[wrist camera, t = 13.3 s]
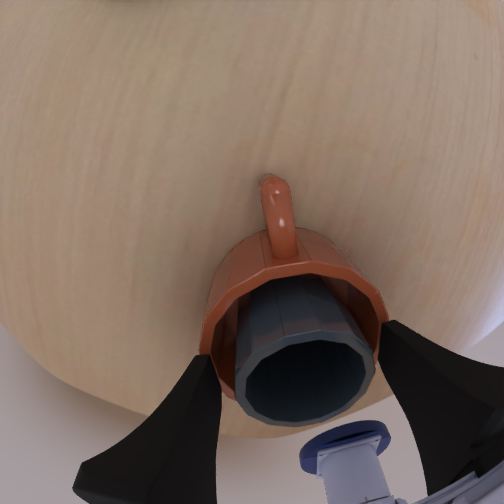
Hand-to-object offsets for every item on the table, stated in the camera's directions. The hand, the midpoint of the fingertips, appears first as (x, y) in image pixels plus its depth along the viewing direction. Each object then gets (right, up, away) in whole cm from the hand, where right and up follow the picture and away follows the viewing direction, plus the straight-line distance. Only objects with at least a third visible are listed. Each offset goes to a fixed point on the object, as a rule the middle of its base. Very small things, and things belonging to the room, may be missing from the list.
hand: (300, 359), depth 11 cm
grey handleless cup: (0, +2, +4) cm, 5 cm away
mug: (0, +3, +5) cm, 6 cm away
